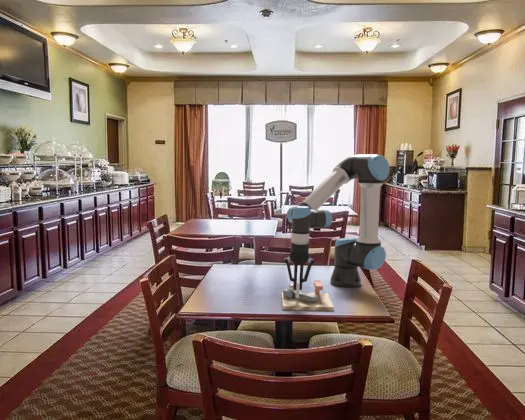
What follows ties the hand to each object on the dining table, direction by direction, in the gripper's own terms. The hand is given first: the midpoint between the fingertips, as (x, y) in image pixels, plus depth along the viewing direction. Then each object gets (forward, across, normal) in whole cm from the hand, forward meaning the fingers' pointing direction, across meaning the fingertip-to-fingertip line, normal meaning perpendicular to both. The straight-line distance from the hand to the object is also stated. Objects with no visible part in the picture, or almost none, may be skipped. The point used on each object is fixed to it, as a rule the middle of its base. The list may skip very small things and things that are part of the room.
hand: (297, 297), depth 198 cm
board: (+3, -4, -3) cm, 6 cm away
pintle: (+2, +2, -6) cm, 7 cm away
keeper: (+2, -10, -7) cm, 12 cm away
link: (+2, -2, -3) cm, 3 cm away
